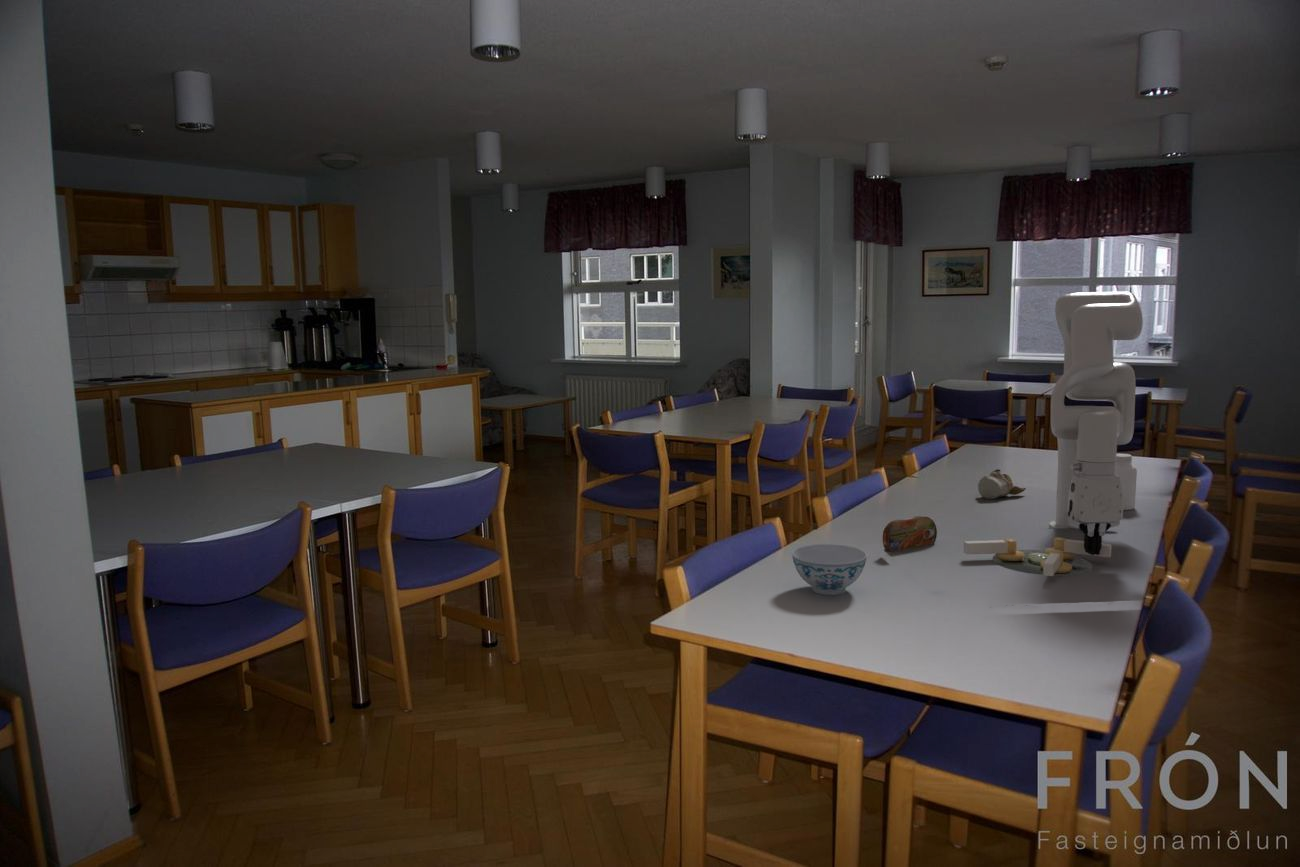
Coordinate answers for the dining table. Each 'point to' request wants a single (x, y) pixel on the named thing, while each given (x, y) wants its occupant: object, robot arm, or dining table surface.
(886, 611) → the dining table surface
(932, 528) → the tin
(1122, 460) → the pill bottle
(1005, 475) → the ceramic sculpture
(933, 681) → the dining table surface
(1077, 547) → the knob right
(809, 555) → the chinaware
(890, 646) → the dining table surface
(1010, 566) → the level base
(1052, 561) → the knob front
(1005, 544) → the knob left
